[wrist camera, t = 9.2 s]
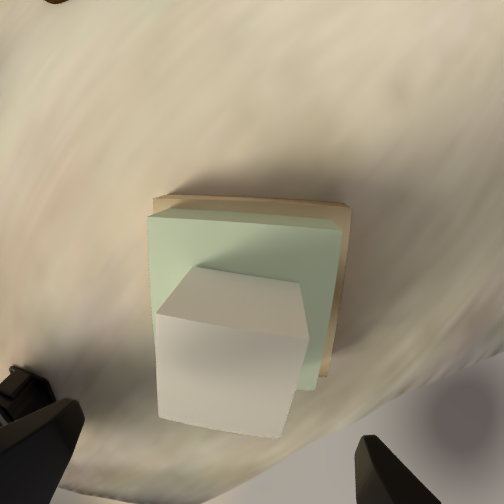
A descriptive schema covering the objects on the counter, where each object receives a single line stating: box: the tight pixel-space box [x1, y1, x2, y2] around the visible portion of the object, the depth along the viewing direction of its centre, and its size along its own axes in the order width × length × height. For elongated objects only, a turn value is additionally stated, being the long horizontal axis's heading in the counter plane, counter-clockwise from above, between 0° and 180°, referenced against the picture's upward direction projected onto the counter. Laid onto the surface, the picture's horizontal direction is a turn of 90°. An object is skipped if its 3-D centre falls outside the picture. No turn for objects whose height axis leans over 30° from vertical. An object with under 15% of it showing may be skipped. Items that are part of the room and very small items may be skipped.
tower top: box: [148, 208, 343, 390], centre depth 17 cm, size 9×9×3 cm
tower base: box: [153, 194, 352, 377], centre depth 20 cm, size 11×11×3 cm
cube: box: [156, 266, 309, 439], centre depth 13 cm, size 5×5×5 cm
